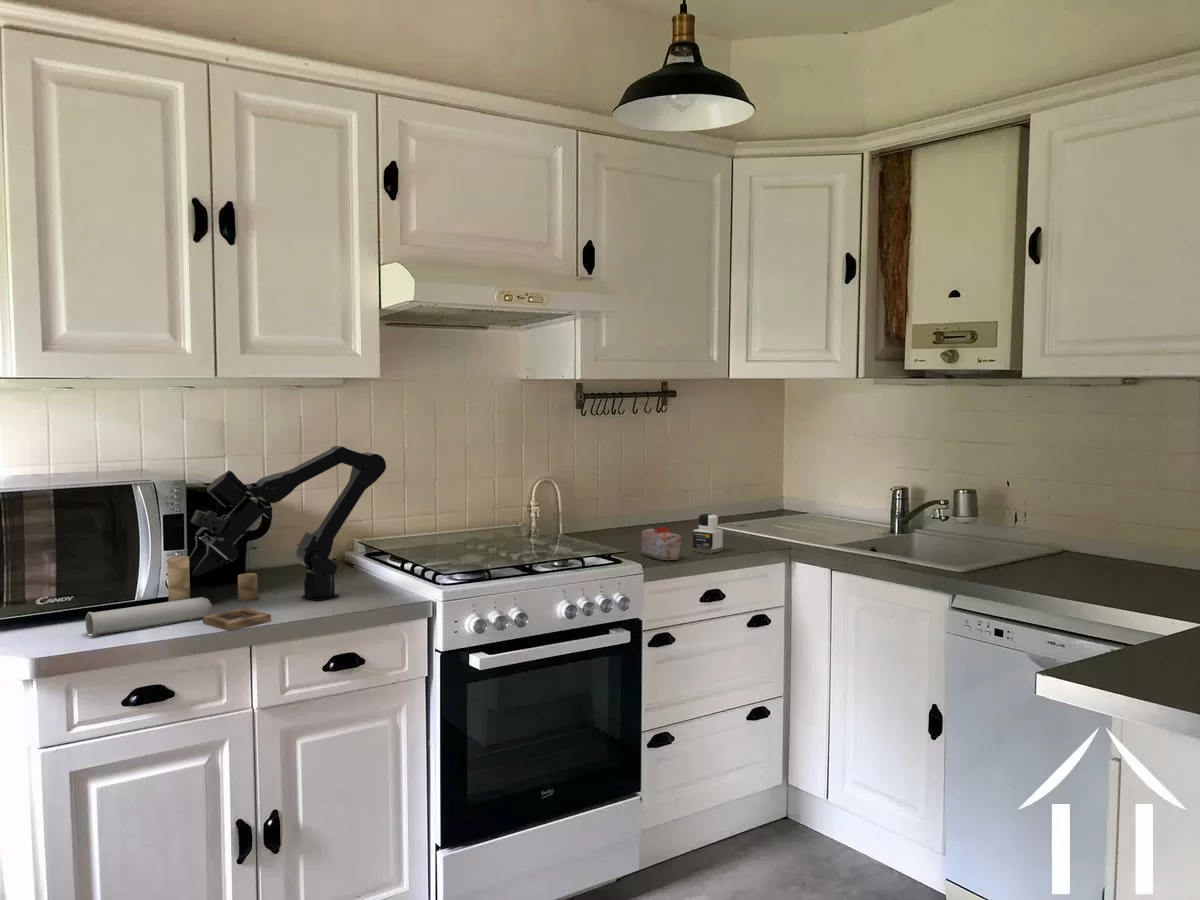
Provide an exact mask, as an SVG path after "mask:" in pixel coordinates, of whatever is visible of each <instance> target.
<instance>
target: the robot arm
mask: <svg viewBox="0 0 1200 900" xmlns="http://www.w3.org/2000/svg"><path fill="white" fill-rule="evenodd" d="M340 464H343V465H346V466H349V467H351V470H350V476H349V480H348V482H347V484H346V485H345V487H344V488H343V489H342V491H341V493H340V494H339V496H338V498H337V499H336V501H335V502H334V504H333V505H332V507H331V508H330V509H329V512H328V513H327V515H326V516H325V517H324V518H323V521H322V522H321V524H320V525H319V526H318V528H317V529H316V530H315V531H314V532H312V533H310V532H308V531H305V533H304V535H303V537H302V539H301V540H300V542H299V543H297V544H296V547H297V549H296V552H295V555H296V559H297V561H298V562H299V563H300V564H301V565H303V568H304V570H305V571H308V572H305V579H304V581H303V582H304V584H303V585H304V587H303V588H304V589H303V590H304V594H302V595H301V598H304V599H308V600H311V601H315V602H316V601H317V602H318V601H324V600H328V599H331V598H332V599H333V598H337V597H339V595H340V594H339V593H335V592H336V591H335V586H336V584H335V582H336V581H335V574H336V573H337V568H338V566H337V564H336V563H335V562H333V561H332V560H331V559H330V558H329V557H330V555H331V552H332V549H333V545H334V540H335V538H336V536H337V535H338V532H339V531H340V529H341V528H342V526H343V525H344V523H345V522H346V520H347V519H348V518H349V516H350V514H351V513H352V512H353V510H354V508H355V506H356V505H357V503H358V502H359V500H360V499H361V497H362V495H363V494H364V493H365V492H366V490H367V489H369V487H371V486H372V485H373V484H374V483H376V482H377V481H378V480H379V478H380V477H382V475H383V474H384V473H385V472H386V470H387V463H386V460H385V458H384V457H383V456H382V455H380V454H378V453H373V452H363V453H361V452H358V451H355V450H351V449H348V448H347V447H345V446H341V445H335V446H332V447H331V448H330V449H328V450H326V451H324V452H322V453H321V454H318V455H317V456H316V455H315V457H312V458H311V459H308V460H307V461H304V462H303V463H301V464H299V465H297V466H294V467H293V468H290V469H289V470H288V469H287V470H285V471H282V472H281V471H279V472H276V473H272V474H269V475H266V476H263V477H261V478H260V479H257V481H256V482H251V483H246V484H245V483H243V482H242V481H241V480H240V479H239V478H238V477H237V476H236V474H235V473H234V472H233V471H231V470H229V469H228V470H226V472H225V473H223V474H222V475H220V476H218V477H217V478H214V479H213V481H212V482H210V483H209V485H208V486H207V489H206V492H207V493H209V495H211V497H213V498H214V499H215V500H217V502H218V503H219V504H221V505H222V506H223V507H224V508H227V507H232V508H233V509H232V510H231V511H230V512H229V513H228V514H222V515H221V516H220V517H218V514H217V513H216V512H214V511H211V510H208V511H206V512H205V511H202V510H198V509H196V510H195V512H194V514H193V515H192V518H191V520H190V523H192V524H193V525H195V526H197V527H200V528H199V529H197V531H196V532H195V536H194V539H195V540H194V541H195V547H194V548H193V550H192V551H191V553H190V555H189V556H188V557H189V570H190V569H191V568H193V567H195V566H196V567H195V569H194V570H193V571H192V573H191V575H192V576H194V577H198V576H201V575H203V574H205V573H208V572H210V571H212V570H214V569H217V568H219V567H222V566H224V565H226V564H229V563H230V561H231V562H232V563H234V561H235V560H236V559H237V558H238V557H239V556H240V555H239V554H240V553H239V552H240V551H239V549H238V548H237V547H236V543H237V542H238V541H239V540H240V539H241V538H242V537H243V536H244V537H246V536H247V535H248V534H249V532H248V531H249V529H250V528H252V527H253V525H254V524H255V523H256V522H258V520H259V519H261V518H262V516H264V517H265V518H266V519H269V520H271V519H273V507H272V506H269V505H267V506H266V505H265V504H264V503H262V501H264V502H265V503H270V504H276V503H279V502H281V501H282V500H283V499H285V498H286V497H287V496H288V495H290V494H291V493H292V492H293V491H294V490H295V489H296V488H297V487H298V486H300V485H301V484H304V483H305V482H307V481H310V480H311V479H313V478H315V477H316V476H319V475H321V474H322V473H324V472H327V471H329V470H331V469H332V468H334V467H337V466H338V465H340ZM247 494H248V495H251V496H253V497H257V498H255V499H252V498H251V497H250V496H248V495H247ZM259 499H260V500H262V501H260V500H259Z"/></svg>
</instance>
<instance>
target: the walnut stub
mask: <svg viewBox="0 0 1200 900" xmlns="http://www.w3.org/2000/svg"><path fill="white" fill-rule="evenodd" d="M257 598H259V597H258V574H257V573H254V572H253V573H252V572H249V573H248V572H246V573H240V574H238V575H237V601H238V600H241V601H240V602H242V601H248V602H253V601H252V600H255V601H257V600H258V599H257ZM256 599H257V600H256Z"/></svg>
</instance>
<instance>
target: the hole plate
mask: <svg viewBox="0 0 1200 900" xmlns="http://www.w3.org/2000/svg"><path fill="white" fill-rule="evenodd" d="M271 614H272V613H271ZM271 614H270V613H266V612H262V611H259V610H254V609H251V608H246V607H241V608H235V609H232V610H227V611H223V612H217V613H214V614H210V615H208V616H203V618H202V621H203V622H202V623H203V624H204V623H206V624H205V625H208V624H209V625H208V626H211V625H212V627H215V626H216V628H218V627H220V628H219V629H222V630H225V629H226V631H228V632H229V631H230V632H231V631H235V630H239V629H243V628H247V627H252V626H256V625H260V624H264V623H269V622H271V621H272V615H271ZM237 617H240V618H237ZM243 617H244V618H243ZM234 618H235V619H234ZM230 619H231V620H230Z"/></svg>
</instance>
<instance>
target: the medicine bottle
mask: <svg viewBox="0 0 1200 900" xmlns="http://www.w3.org/2000/svg"><path fill="white" fill-rule="evenodd" d="M718 518H719V517H718V516H717V515H716V514H713V513H702V514H700V515H698V528H696V529H693V530H692V549H693V548H701V549H710V550H713V549H717V548H720V547H722V548H723V540H724V539H723V534H724V531H723V529H721V528H718V527H719V525H718V521H719V519H718Z"/></svg>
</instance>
